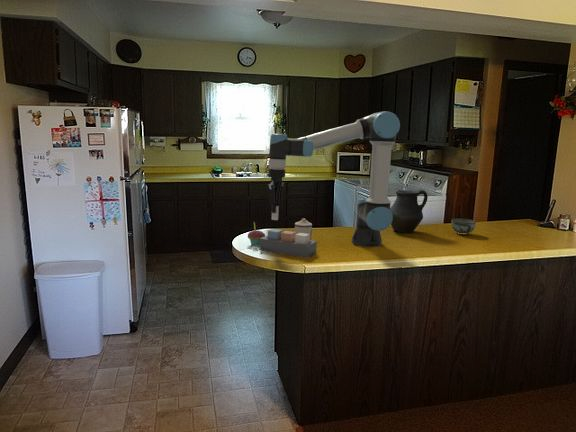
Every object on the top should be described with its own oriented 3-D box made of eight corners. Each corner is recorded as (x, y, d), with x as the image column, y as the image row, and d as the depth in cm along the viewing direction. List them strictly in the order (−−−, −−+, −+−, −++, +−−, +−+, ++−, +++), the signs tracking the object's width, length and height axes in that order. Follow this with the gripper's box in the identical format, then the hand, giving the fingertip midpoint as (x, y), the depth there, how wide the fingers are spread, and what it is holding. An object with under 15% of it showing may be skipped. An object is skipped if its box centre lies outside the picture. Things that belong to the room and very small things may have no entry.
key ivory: (309, 244, 200) (309, 234, 199) (305, 247, 195) (305, 236, 195) (299, 243, 202) (299, 232, 201) (294, 245, 198) (295, 234, 197)
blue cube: (281, 240, 206) (282, 230, 205) (277, 242, 201) (277, 232, 200) (272, 239, 208) (272, 228, 207) (267, 241, 203) (267, 230, 202)
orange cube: (295, 242, 203) (295, 232, 202) (290, 244, 198) (291, 234, 197) (285, 241, 205) (286, 230, 204) (280, 243, 200) (281, 232, 200)
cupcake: (258, 248, 206) (258, 223, 204) (243, 245, 210) (244, 220, 208) (268, 244, 213) (269, 220, 211) (254, 241, 218) (254, 218, 215)
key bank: (316, 252, 202) (316, 241, 201) (307, 258, 193) (308, 245, 192) (270, 245, 212) (270, 234, 211) (259, 249, 203) (260, 238, 202)
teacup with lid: (313, 243, 219) (314, 220, 217) (295, 243, 217) (296, 220, 215) (308, 237, 231) (309, 215, 229) (291, 237, 229) (292, 215, 227)
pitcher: (384, 226, 267) (387, 185, 262) (421, 228, 264) (425, 187, 260) (387, 233, 247) (390, 189, 242) (426, 236, 244) (431, 192, 240)
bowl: (453, 230, 264) (455, 217, 262) (477, 234, 256) (478, 220, 255) (447, 234, 253) (448, 220, 251) (471, 237, 245) (473, 223, 244)
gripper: (276, 167, 206) (274, 216, 210) (262, 168, 194) (260, 220, 198) (290, 168, 203) (288, 218, 207) (278, 169, 191) (275, 222, 195)
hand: (274, 219), depth 203 cm, fingers closed
